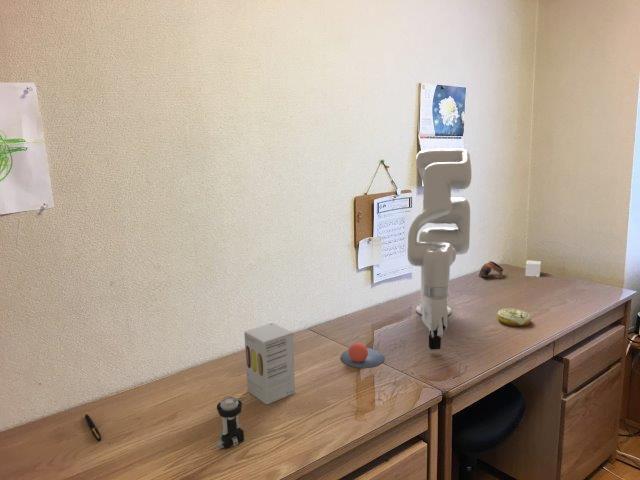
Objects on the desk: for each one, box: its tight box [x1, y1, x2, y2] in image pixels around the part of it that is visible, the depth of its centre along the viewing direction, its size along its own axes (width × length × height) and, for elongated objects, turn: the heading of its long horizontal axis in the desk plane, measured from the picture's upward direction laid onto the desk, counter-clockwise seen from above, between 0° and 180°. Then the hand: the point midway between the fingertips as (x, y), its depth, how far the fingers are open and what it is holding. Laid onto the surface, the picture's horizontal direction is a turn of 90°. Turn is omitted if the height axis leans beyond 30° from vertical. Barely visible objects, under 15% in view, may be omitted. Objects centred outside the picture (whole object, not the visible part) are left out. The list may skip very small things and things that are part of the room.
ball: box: [348, 342, 368, 363], centre depth 141 cm, size 6×6×6 cm
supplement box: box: [243, 322, 296, 405], centre depth 125 cm, size 10×9×17 cm
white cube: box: [524, 259, 542, 278], centre depth 223 cm, size 6×6×6 cm
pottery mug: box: [478, 260, 504, 279], centre depth 221 cm, size 12×10×8 cm
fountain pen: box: [84, 412, 102, 442], centre depth 113 cm, size 14×1×2 cm, turn 38°
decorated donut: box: [497, 308, 532, 327], centre depth 168 cm, size 10×11×4 cm
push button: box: [214, 396, 245, 450], centre depth 104 cm, size 7×5×10 cm
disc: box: [340, 347, 385, 369], centre depth 144 cm, size 13×13×1 cm
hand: (434, 348), depth 146 cm, fingers closed
